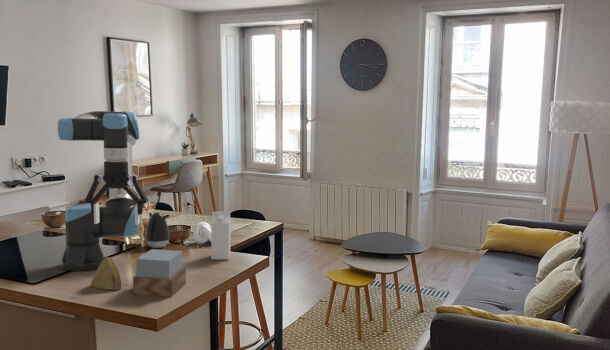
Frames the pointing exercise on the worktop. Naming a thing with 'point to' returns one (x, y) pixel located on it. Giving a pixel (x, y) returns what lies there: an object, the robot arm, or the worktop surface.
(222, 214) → the milk carton
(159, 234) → the pump dispenser
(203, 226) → the white spiral shell
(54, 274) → the worktop surface
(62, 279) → the worktop surface
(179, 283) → the bottom block
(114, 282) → the rock
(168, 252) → the top block
